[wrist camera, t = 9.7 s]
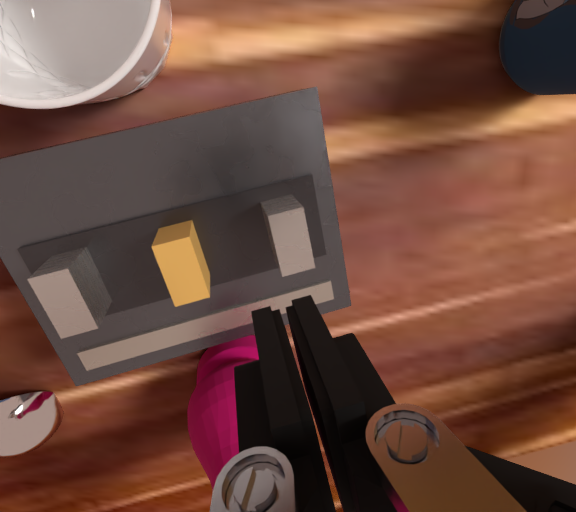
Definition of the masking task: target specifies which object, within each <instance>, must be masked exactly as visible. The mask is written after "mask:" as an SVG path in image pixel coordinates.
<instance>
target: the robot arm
mask: <svg viewBox="0 0 576 512" xmlns="http://www.w3.org/2000/svg"><path fill="white" fill-rule="evenodd" d="M285 308H286V312H287V317H288V321H289V325H290V329H291V333H292V337H293V341H294V345H295V349H296V353H297V357H298V361H299V365H300V369H301V374H302V378H303V382H304V385H305V389H306V393H307V396H308V399H309V402H310V406H311V409H312V412H313V415H314V418H315V422H316V425H317V428H318V431H319V434H320V438H321V441H322V444H323V447H324V450H325V454H326V457H327V460H328V463H329V466H330V470H331V473H332V476H333V479H334V482H335V486H336V489H337V492H338V495H339V498H340V502H341V505H342V508H343V511H344V512H576V485H575V484H572V483H569V482H566V481H564V480H561V479H558V478H555V477H552V476H549V475H547V474H544V473H541V472H538V471H535V470H532V469H530V468H527V467H524V466H521V465H518V464H515V463H512V462H510V461H507V460H504V459H501V458H498V457H496V456H493V455H490V454H487V453H484V452H481V451H479V450H476V449H473V448H470V447H467V446H464V445H463V444H462V443H461V442H460V440H459V439H458V438H457V437H456V436H455V435H454V434H453V433H452V432H451V431H450V430H449V429H448V428H447V427H446V426H445V425H444V424H443V423H442V421H441V420H440V419H439V418H437V417H436V416H435V415H434V414H432V413H431V412H430V411H428V410H426V409H424V408H422V407H419V406H416V405H411V404H396V403H395V401H394V400H393V398H392V396H391V395H390V393H389V391H388V390H387V388H386V386H385V385H384V383H383V381H382V380H381V378H380V376H379V375H378V373H377V372H376V370H375V368H374V367H373V365H372V363H371V362H370V360H369V358H368V357H367V355H366V353H365V352H364V350H363V348H362V347H361V345H360V343H359V342H358V340H357V338H356V337H355V335H354V334H353V333H350V334H346V335H343V336H339V337H336V338H332V336H331V334H330V332H329V330H328V328H327V326H326V324H325V322H324V320H323V318H322V316H321V314H320V312H319V310H318V308H317V306H316V304H315V302H314V300H313V298H312V296H311V295H308V296H304V297H301V298H297V299H294V300H292V306H288V307H285ZM251 314H252V320H253V326H254V332H255V338H256V344H257V350H258V356H259V360H256V361H252V362H249V363H245V364H242V365H238V366H235V367H234V381H235V397H236V413H237V429H238V445H239V454H237V455H236V456H234V457H233V458H232V459H231V460H230V461H229V462H228V463H227V464H226V465H225V466H224V467H223V469H222V470H221V472H220V473H219V475H218V477H217V479H216V482H215V486H214V489H213V494H212V501H211V507H210V512H336V511H335V507H334V502H333V498H332V494H331V490H330V486H329V482H328V478H327V474H326V470H325V466H324V462H323V458H322V453H321V449H320V445H319V441H318V437H317V433H316V429H315V425H314V421H313V418H312V414H311V410H310V407H309V404H308V400H307V397H306V394H305V391H304V387H303V384H302V381H301V378H300V374H299V371H298V368H297V365H296V361H295V358H294V355H293V352H292V348H291V345H290V342H289V339H288V335H287V332H286V329H285V326H284V322H283V319H282V316H281V313H280V309H277V310H274V311H272V310H271V307H270V306H268V307H265V308H261V309H257V310H254V311H251Z"/></svg>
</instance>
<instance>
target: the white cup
mask: <svg viewBox="0 0 576 512" xmlns="http://www.w3.org/2000/svg"><path fill="white" fill-rule="evenodd" d="M172 39H173V35H172V13H171V4H170V0H0V104H2V105H7V106H12V107H18V108H28V109H53V108H61V107H68V106H74V105H81V104H89V103H97V102H103V101H108V100H112V99H117V98H120V97H123V96H126V95H129V94H131V93H133V92H134V91H137V90H141V89H144V88H146V87H147V86H148V85H149V84H150V83H151V82H152V80H153V79H154V78H155V77H156V76H157V75H158V74H159V73H160V72H161V71H162V70H163V69H164V68H165V65H166V61H167V57H168V54H169V50H170V46H171V43H172Z"/></svg>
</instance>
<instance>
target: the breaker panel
mask: <svg viewBox="0 0 576 512" xmlns="http://www.w3.org/2000/svg"><path fill="white" fill-rule="evenodd" d="M190 220H192V221H193V224H194V227H195V230H196V233H197V237H198V240H199V243H200V246H201V249H202V252H203V255H204V258H205V261H206V264H207V267H208V270H209V273H210V297H209V298H205V299H202V300H198V301H195V302H191V303H188V304H184V305H180V306H177V307H175V305H174V303H173V300H172V298H171V295H170V293H169V290H168V288H167V285H166V283H165V280H164V278H163V275H162V272H161V270H160V267H159V265H158V262H157V260H156V257H155V255H154V252H153V250H152V247H151V246H152V244H153V241H154V239H155V237H156V234H157V232H158V229H159V228H162V227H166V226H170V225H174V224H178V223H182V222H186V221H190ZM0 257H1V259H2V261H3V263H4V264H5V266H6V268H7V269H8V271H9V273H10V274H11V276H12V278H13V280H14V281H15V283H16V285H17V286H18V288H19V290H20V291H21V293H22V295H23V297H24V298H25V300H26V302H27V303H28V305H29V307H30V308H31V310H32V312H33V313H34V315H35V317H36V319H37V320H38V322H39V324H40V325H41V327H42V329H43V330H44V332H45V334H46V336H47V337H48V339H49V341H50V342H51V344H52V346H53V347H54V349H55V351H56V353H57V354H58V356H59V358H60V359H61V361H62V363H63V364H64V366H65V368H66V370H67V371H68V373H69V375H70V376H71V378H72V380H73V381H74V383H75V385H76V386H79V385H83V384H86V383H89V382H93V381H96V380H100V379H103V378H106V377H110V376H113V375H117V374H120V373H123V372H127V371H130V370H134V369H137V368H140V367H144V366H147V365H151V364H154V363H158V362H161V361H164V360H168V359H171V358H175V357H178V356H181V355H185V354H188V353H192V352H195V351H198V350H202V349H205V348H209V347H212V346H215V345H219V344H222V343H226V342H229V341H233V340H236V339H239V338H243V337H246V336H250V335H253V334H255V332H254V326H253V320H252V314H251V311H254V310H257V309H261V308H265V307H268V306H270V307H271V310H272V311H274V310H277V309H280V313H281V316H282V319H283V322H284V325H287V324H289V321H288V317H287V312H286V308H285V307H288V306H292V300H294V299H297V298H301V297H304V296H308V295H311V296H312V298H313V300H314V302H315V304H316V306H317V308H318V310H319V312H320V314H325V313H328V312H331V311H335V310H338V309H342V308H345V307H348V306H351V300H350V294H349V287H348V281H347V275H346V268H345V262H344V256H343V249H342V243H341V237H340V230H339V224H338V218H337V211H336V205H335V198H334V192H333V186H332V179H331V173H330V167H329V160H328V154H327V148H326V141H325V135H324V129H323V122H322V116H321V110H320V103H319V97H318V90H317V87H313V88H307V89H302V90H296V91H291V92H287V93H283V94H278V95H274V96H269V97H265V98H261V99H256V100H252V101H248V102H243V103H239V104H234V105H230V106H226V107H221V108H217V109H212V110H208V111H204V112H199V113H195V114H191V115H186V116H182V117H177V118H173V119H169V120H164V121H160V122H155V123H151V124H147V125H142V126H138V127H134V128H129V129H125V130H120V131H116V132H112V133H107V134H103V135H98V136H94V137H90V138H85V139H81V140H77V141H72V142H68V143H63V144H59V145H55V146H50V147H46V148H41V149H37V150H33V151H28V152H24V153H20V154H15V155H11V156H7V157H3V158H0Z"/></svg>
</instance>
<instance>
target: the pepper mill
mask: <svg viewBox="0 0 576 512" xmlns="http://www.w3.org/2000/svg"><path fill="white" fill-rule="evenodd" d="M256 360H259V356H258V350H257V344H256V338H255V336H254V335H250V336H246V337H243V338H239V339H236V340H233V341H229V342H226V343H222V344H219V345H215V346H212V347H209V348H208V349H207V350H206V351H205V353H204V354H203V355H202V357H201V359H200V361H199V364H198V368H197V386H196V388H195V389H194V391H193V393H192V395H191V398H190V400H189V404H188V410H187V415H188V432H189V435H190V439H191V443H192V446H193V449H194V451H195V453H196V455H197V457H198V459H199V461H200V463H201V465H202V466H203V468H204V470H205V472H206V474H207V476H208V478H209V480H210V482H211V485H212V489H214V486H215V482H216V479H217V477H218V475H219V473H220V472H221V470H222V469H223V467H224V466H225V465H226V464H227V463H228V462H229V461H230V460H231V459H232V458H233V457H234V456H236V455H237V454H239V445H238V429H237V413H236V397H235V381H234V367H235V366H238V365H242V364H245V363H249V362H252V361H256Z"/></svg>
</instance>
